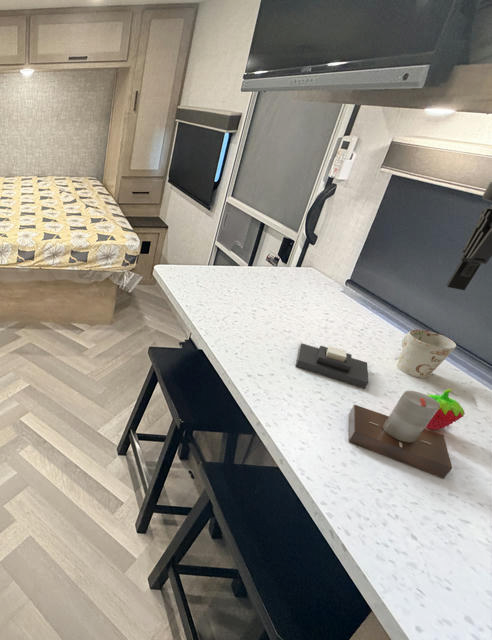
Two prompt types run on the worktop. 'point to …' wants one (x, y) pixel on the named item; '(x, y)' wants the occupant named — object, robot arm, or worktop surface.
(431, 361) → the mug
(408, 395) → the volume knob
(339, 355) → the cream square block
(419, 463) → the volume box
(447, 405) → the strawberry
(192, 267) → the worktop surface
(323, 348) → the ridged dark grey block
